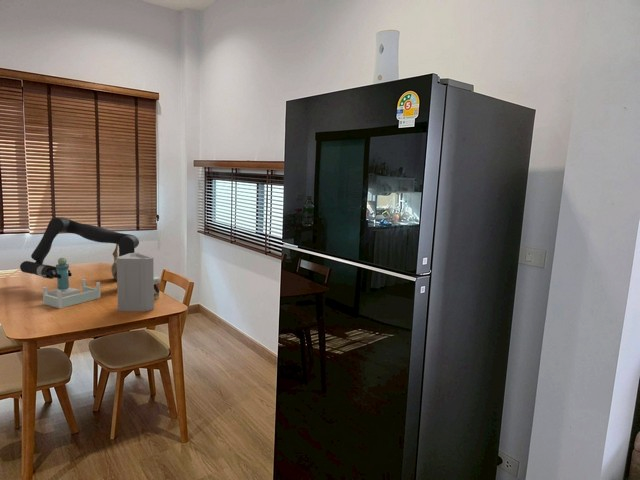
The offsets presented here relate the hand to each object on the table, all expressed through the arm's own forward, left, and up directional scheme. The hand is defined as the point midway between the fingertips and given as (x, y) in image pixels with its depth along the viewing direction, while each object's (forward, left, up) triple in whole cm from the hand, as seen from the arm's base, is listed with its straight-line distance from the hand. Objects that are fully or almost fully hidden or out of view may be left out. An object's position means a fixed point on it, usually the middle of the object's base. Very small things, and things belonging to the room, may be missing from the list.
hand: (65, 275), depth 238 cm
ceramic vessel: (-15, -38, -11) cm, 42 cm away
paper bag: (-45, +21, -11) cm, 51 cm away
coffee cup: (-49, +2, -11) cm, 50 cm away
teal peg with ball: (+2, -1, -8) cm, 8 cm away
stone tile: (+2, -1, -11) cm, 12 cm away
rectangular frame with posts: (-9, +11, -11) cm, 18 cm away
